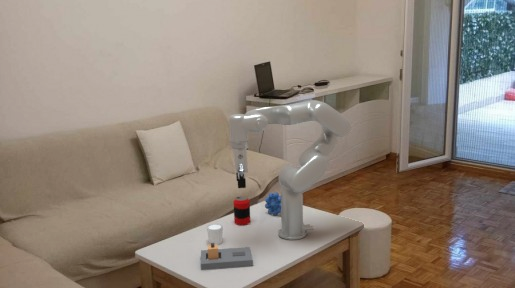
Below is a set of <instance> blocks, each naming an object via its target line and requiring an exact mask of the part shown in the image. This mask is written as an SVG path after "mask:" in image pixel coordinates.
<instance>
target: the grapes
mask: <svg viewBox="0 0 515 288" xmlns="http://www.w3.org/2000/svg"><path fill="white" fill-rule="evenodd" d="M264 201H265V204H264V207H265V208H266V209H267V212H268V214H270V215H271V214H272V215H273V216H278V214H281V195H280V193H278V192H274V193H273V192H270V193H268V195H267V197H265V199H264Z"/></svg>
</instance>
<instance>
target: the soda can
mask: <svg viewBox="0 0 515 288" xmlns="http://www.w3.org/2000/svg"><path fill="white" fill-rule="evenodd" d="M250 205H251V203H250V199H248V197H247V196H237V197H236V198H234V200H233V218H234V219H233V220H234V224H235V225H237V226H247V225H249V224H250V223H251V208H250V207H251V206H250Z"/></svg>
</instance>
